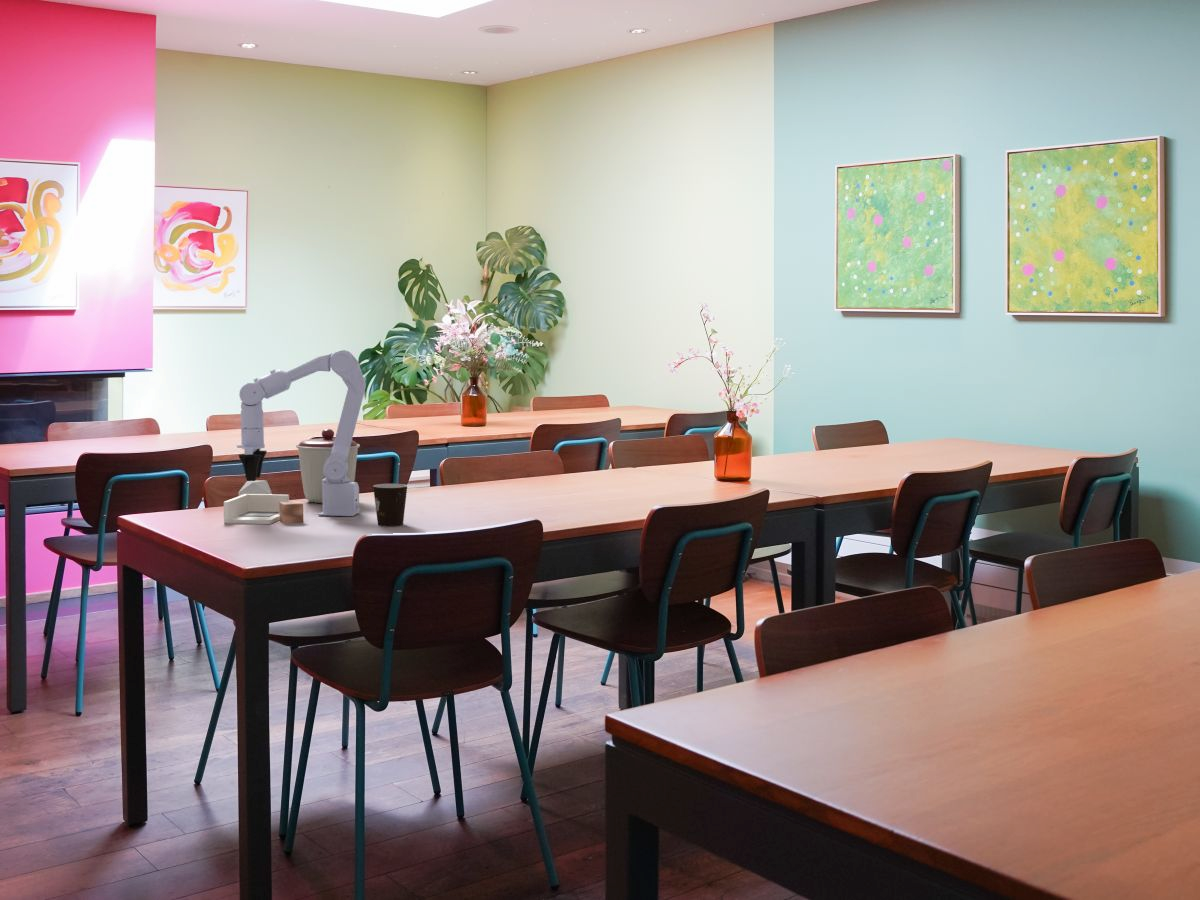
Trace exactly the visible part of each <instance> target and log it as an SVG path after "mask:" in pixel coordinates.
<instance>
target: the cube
mask: <svg viewBox="0 0 1200 900" xmlns="http://www.w3.org/2000/svg"><path fill="white" fill-rule="evenodd" d="M279 508H280V520H279V522H281V523H282V524H298V523H305V522H304V503H303V502H301V501H299V500H293V501H289V502H279Z"/></svg>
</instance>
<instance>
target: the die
mask: <svg viewBox="0 0 1200 900" xmlns="http://www.w3.org/2000/svg"><path fill="white" fill-rule="evenodd" d="M270 487H271V486H269V482H268V480H264V479H263V480H257V479H256V480H255V481H247V480H246V482H245V483H244V484H243V485H242V487H241V488H240V490H239V491H238V492H237V493H238V496H241V495H243V494H273V493H272V490H271V488H270Z"/></svg>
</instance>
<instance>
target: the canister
mask: <svg viewBox="0 0 1200 900" xmlns="http://www.w3.org/2000/svg"><path fill="white" fill-rule="evenodd" d="M334 436H335V431H334V430H332V428H324V429H323V430H322V432H321V437H322V438H321V437H319V438H310V439H305V440H301V441H300V442H299V443H298V444H296V445H295V448H297V449H298V457H299V467H300V474H301V483H302V488H303V489H302V490H303V494H304V497H305V499H306V500H307V501H308V502H309V503H313V502H314V503H313V504H323V487H322V482H323V481H322V480H323V479H325V478H326V477H325V475H324V473H323V467H324V464H325V462H326V460H327V459H328V458H329V457H330V455H331V451H332V448H333V444H334V440H335V437H334ZM360 447H361V445H360V443H357V441H355V440H353V439H352V441H351V445H350V449H349V453H348V457H347V462H348V471H347V474H346V476H347V477H348V478H349V479H350V482H355V480H356V471H357V470H356V469H357V460H358V459H357V458H358V450H359V449H358V448H360Z"/></svg>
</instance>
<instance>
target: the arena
mask: <svg viewBox="0 0 1200 900" xmlns="http://www.w3.org/2000/svg"><path fill="white" fill-rule="evenodd" d="M279 502H290V494H273V493H272V494H243V495H241V496H239V495H238V496H236V497H233V498H231V499H228V500H225V501H223V523H224V524H242V525H243V524H245V525H246V524H249V525H253V524H254V525H271V524H273V523H275V522H278V521H280V508H279Z"/></svg>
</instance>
